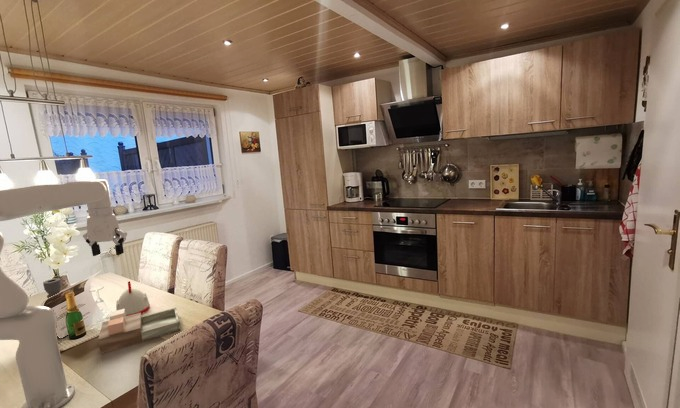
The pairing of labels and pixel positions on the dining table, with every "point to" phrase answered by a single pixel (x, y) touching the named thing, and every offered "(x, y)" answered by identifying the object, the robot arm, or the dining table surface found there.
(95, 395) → the dining table surface
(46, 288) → the candle holder
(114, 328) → the salmon pink block
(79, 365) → the dining table surface
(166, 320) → the stepped long block
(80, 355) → the dining table surface
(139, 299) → the white dome with stick
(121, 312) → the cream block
